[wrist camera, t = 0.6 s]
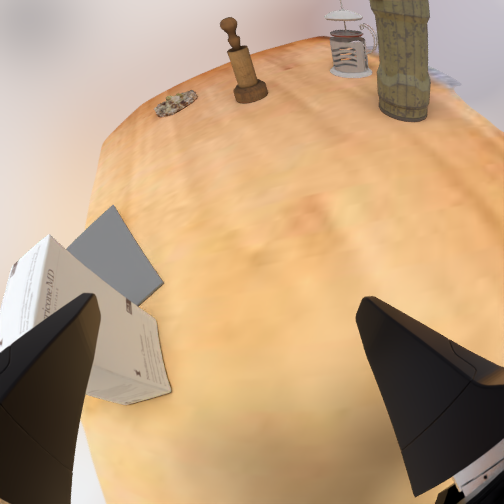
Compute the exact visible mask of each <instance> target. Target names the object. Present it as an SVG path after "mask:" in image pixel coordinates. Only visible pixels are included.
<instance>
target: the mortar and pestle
mask: <svg viewBox="0 0 504 504" xmlns="http://www.w3.org/2000/svg"><path fill="white" fill-rule="evenodd" d="M220 27H221V28H222V29H223V30H224V31H225V32H226V33H227V34H228V36H229V38H228V42H229V44H230V45H231V47H232V49H229V50H228V51H227V53H228V56H229V58H230V61H231V64H232V67H233V70H234V73H235V76H236V80H237V83H238V85H237V86H236V88H235V89H234V95H235V98H236V100H237V102H239V103H250V102H254V101H257V100H260V99H262V98H264V97H265V96H266V95H267V94H268V91H267V87H266V84H265V82H263V81H261V80H259V79H257V77H256V74H255V70H254V67H253V64H252V60H251V57H250V54H249V50H248V48H247V46H240V37H239V36H237V35H236V28H237V21H236V20H235V19H234V18H232V17H228V18H225V19H223V20H222V21H221V22H220Z"/></svg>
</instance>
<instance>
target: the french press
mask: <svg viewBox="0 0 504 504" xmlns="http://www.w3.org/2000/svg"><path fill="white" fill-rule="evenodd" d="M340 3H341V0H340ZM341 8H342V3H341ZM362 18H363V17H362V16H360V15H359V14H357V13H355V12H352V11H347V10H344V9H341V10H339V11H333V12H331V13H329V14H327V15H326V16H325V19H327V20H334V21H344V25H345V21H356V20H361V19H362ZM364 24H365V23H363V24H361V25H363V28H362V29H361V25H360V29H361V30H363V29H364V27H366V26H365V25H367V24H365V25H364ZM367 26H369V25H367ZM369 27H370V26H369ZM366 28H368V27H366ZM370 28H371V27H370ZM371 29H372V28H371ZM368 30H370V29H369V28H368ZM372 30H373V29H372ZM370 32H371V30H370ZM373 32H374V33H375V31H374V30H373ZM330 34H331V35H332V36H335V37H331V38H330V45H331V51H332V57H333V64H334V66H333V67H332V68H331V70H330V72H331V73H332V74H334V75H336V76H340V77H346V78H361V77H367V76H369V75H371V74H372V71H371V69H370V68H369V67H368V58H367V54H370V53H371V52H373V51H374V50H376V47H377V43H378V40H377V35H376V33H375V35H376V42H377V43H376V47H375V38H374V35H373V33H372V32H371V34H372V36H373V38H374V47H373V49H372V51H370V52H367V53H366V44H365V39H364V38H362V37H360V36H362V35H363V33H362V32H360V31H352V30H346V26H345V30H335V31H333V32H330ZM357 40H359V41H361V42H353V43H349V42H352V41H357ZM363 44H364V46H365V47H364V46H363ZM347 48H353V49H351V50H346V49H347ZM374 48H375V49H374ZM339 49H345V50H339ZM364 49H365V51H364ZM355 51H356V52H355ZM346 53H352V54H351V55H341V56H340V54H346ZM355 55H356V57H354V56H355ZM365 56H366V57H365ZM345 58H351V59H350V60H343V61H341V59H345ZM365 59H366V61H365Z"/></svg>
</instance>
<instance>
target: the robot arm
mask: <svg viewBox="0 0 504 504" xmlns="http://www.w3.org/2000/svg"><path fill="white" fill-rule="evenodd" d="M100 322H101V313H100V309H99V305H98V301H97V297H96V295H95V294H94V293H82V294H81V295H79V296H78V297H76V298H75V299H73V300H72V301H70V302H69V303H67V304H66V305H64V306H63V307H61V308H60V309H59V310H57V311H56V312H54V313H53V314H51V315H50V316H49V317H47V318H46V319H44V320H43V321H42V322H40V323H39V324H37V325H36V326H35V327H33V328H32V329H30V330H29V331H28V332H26V333H25V334H24V335H22V336H21V337H20V338H18V339H17V340H16V341H14V342H13V343H12V344H11V346H10V345H9V346H8V347H6V348H5V349H4V350H3V351H1V352H0V504H71V487H72V475H73V473H72V471H73V463H74V456H75V448H76V441H77V435H78V429H79V423H80V418H81V413H82V408H83V403H84V398H85V394H86V389H87V385H88V381H89V377H90V373H91V369H92V365H93V361H94V356H95V350H96V344H97V338H98V333H99V327H100ZM356 323H357V326H358V330H359V333H360V336H361V340H362V343H363V346H364V350H365V353H366V356H367V359H368V361H369V364H370V366H371V369H372V371H373V374H374V376H375V379H376V382H377V384H378V387H379V389H380V392H381V395H382V397H383V400H384V403H385V406H386V408H387V411H388V414H389V417H390V420H391V423H392V425H393V428H394V431H395V434H396V437H397V440H398V443H399V446H400V450H401V453H402V456H403V460H404V463H405V466H406V470H407V473H408V476H409V480H410V484H411V487H412V491H413V494H414V496H415V497H417V496H419V495H421V494H423V493H425V492H426V491H428V490H430V489H432V488H434V487H436V486H437V485H439V484H441V483H442V482H444V481H446V480H447V479H449V478H451V477H452V479H453V481H454V483H453V484H452V485H451V486H449V487H448V488H446V489H445V490H443V491H442V492H440V493H439V494H438V497H437V500H436V502H435V504H504V367H501V366H499V365H496V364H495V363H493V362H491V361H489V360H487V359H485V358H483V357H481V356H479V355H477V354H475V353H473V352H471V351H469V350H467V349H465V348H464V347H462V346H460V345H458V344H457V343H455V342H453V341H452V340H450V339H449V340H448V338H446V337H445V336H443V335H441V334H439V333H438V332H436V331H434V330H433V329H431V328H429V327H427V326H426V325H424V324H422V323H420V322H419V321H417V320H415V319H413V318H412V317H410V316H408V315H406V314H405V313H403V312H401V311H399V310H398V309H396V308H394V307H392V306H390V305H389V304H387V303H385V302H383V301H382V300H380V299H378V298H376V297H374V296H368V297H364V298H363V299H362V301H361V303H360V306H359V308H358V311H357V313H356Z"/></svg>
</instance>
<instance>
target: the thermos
mask: <svg viewBox="0 0 504 504" xmlns="http://www.w3.org/2000/svg"><path fill="white" fill-rule="evenodd" d="M370 6H371V9H372V11H373V13H374V14H375V18H376V26H377V36H378V45H379V59H380V65H379V68H378V70H377V85H378V94H379V108H380V110H381V111H382V112H383V113H384V114H386V115H388V116H389V117H392V118H395V119H397V120H402V121H408V122H417V121H422V120H424V119H425V118H426V117H427V106H428V104H429V98H430V84H431V82H430V77H429V74H428V31H427V22H428V20H429V18H430V13H429V3H428V0H370Z"/></svg>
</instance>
